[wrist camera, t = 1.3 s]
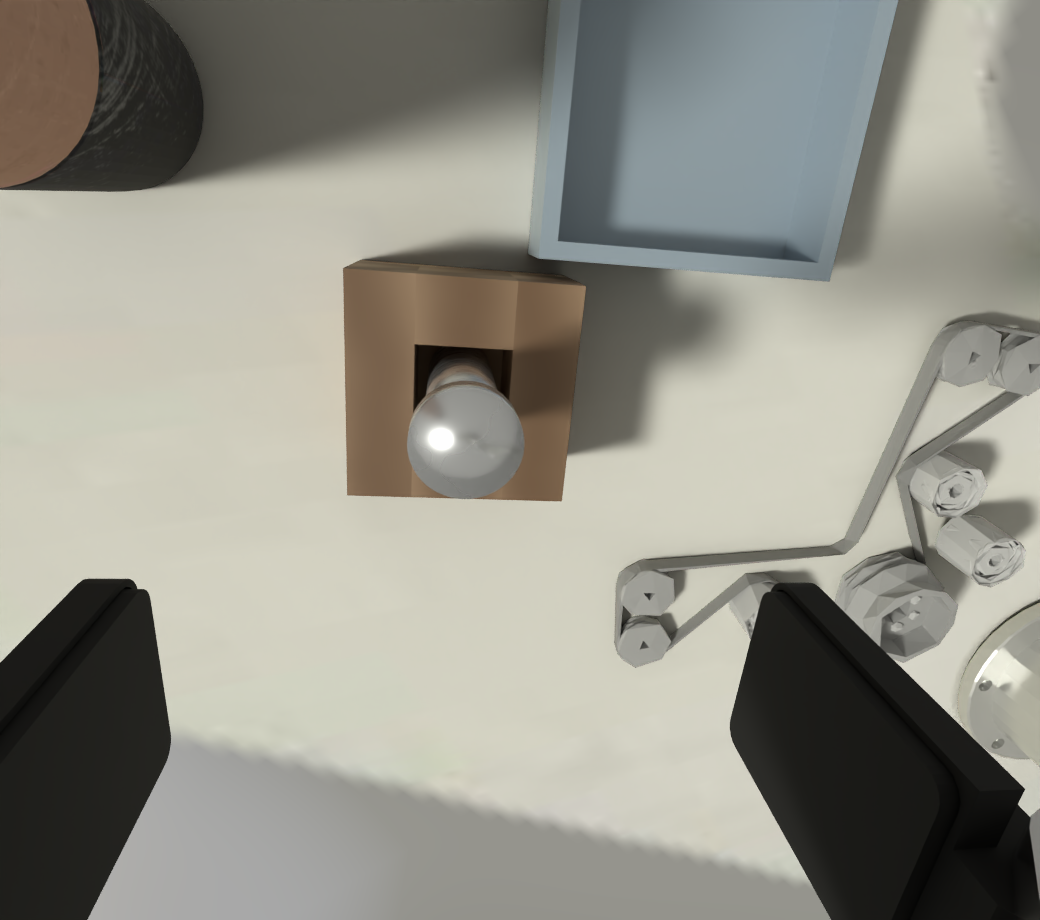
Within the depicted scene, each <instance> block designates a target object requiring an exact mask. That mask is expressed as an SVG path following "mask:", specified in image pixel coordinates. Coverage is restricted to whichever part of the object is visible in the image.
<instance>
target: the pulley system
mask: <svg viewBox="0 0 1040 920" xmlns="http://www.w3.org/2000/svg"><path fill="white" fill-rule="evenodd" d="M995 330H996V331H1002V332H1007V333H1011V334H1010V335H1009V336H1008V337H1007V338H1006V339H1004V340H1003V341H1002V342H1001V336H1002V334H1000V333H998V332H996V331H995ZM986 376H987V378H988V382H989V385H993V386H997V387H1001V388H1004V389H1006V391H1009V392H1007V393H1006V394H1004V395H1003V396H1001V397H1000V398H998V399H997V400H995V401H994V402H992V403H991V404H989V405H988V406H986V407H984V408H983V409H981V410H980V411H978V412H977V413H975V414H974V415H972V416H971V417H969V418H968V419H966V420H964V421H963V422H961V423H960V424H958V425H957V426H955V427H954V428H952V429H951V430H949V431H948V432H946V433H944V434H943V435H941V436H940V437H938V438H937V439H935V440H934V441H932V442H931V443H929V444H928V445H926V446H924V447H923V448H921V449H920V450H918V451H917V452H915V453H914V454H912V455H911V456H909V457H908V458H907V459H906V460H905V461H904V462H903V465H902V467H901V469H900V470H899V472H898V473H897V475H896V479H897V484H898V488H899V492H900V497H901V501H902V506H903V510H904V515H905V519H906V523H907V528H908V532H909V536H910V540H911V543H912V547H913V550H914V554H915V557H916V560H911V559H909V558H906V557H905V556H903V555H902V554H900V553H899V552H894V553H889V554H884V555H880V556H875V557H870V558H868V559H866V560H865V561H863V562H862V563H860V564H859V565H857V566H856V567H855V568H853V569H852V570H850V571H849V572H847V573H846V574H844V575H843V577H842V579H841V582H840V585H839V587H838V591H837V594H836V598H835V603H836V604H837V605H838V606H839V607H840V608H841V609H842V610H843V611H844V612H845V613H846V614H847V615H848V616H849V617H850V618H851V619H852V620H853V621H854V622H855V623H856V624H857V625H858V626H859V627H860V628H861V629H862V630H863V631H864V632H865V633H866V634H867V635H868V636H869V637H870V638H871V639H872V640H873V641H875V642H876V643H877V644H878V645H879V646H880V647H881V648H882V649H883V650H884V651H885V652H886V653H887V654H888V655H889V656H890V657H891V658H892V659H893V660H897V661H900V662H903V663H904V662H906V661H908V660H910V659H912V658H914V657H916V656H918V655H920V654H922V653H924V652H926V651H928V650H930V649H932V648H934V647H936V646H937V645H939V644H940V642H941V641H942V640H943V638H944V637H945V635H946V634H947V633H948V631H949V630H950V628H951V627H952V626H953V624H954V621H955V616H956V612H957V608H958V604H957V603H956V602H955V601H954V600H953V599H952V598H951V597H950V596H949V595H948V594H947V593H946V592H944V587H943V586H942V585H941V583H940V582H939V581H938V580H937V578H936V577H935V576H934V575H933V573H932V572H931V571H930V569H929V568H928V567H927V566H926V563H925V559H924V554H923V550H922V546H921V541H920V537H919V532H918V528H917V524H916V519H915V515H914V510H913V506H912V501H911V497H912V498H914V499H915V500H916V501H918V502H919V503H920V504H922V505H923V506H925V507H926V508H927V509H929V510H930V511H931V512H933V513H934V514H935V515H937V516H938V517H950V518H952V519H951V520H949V521H948V522H947V523H946V524H945V525H944V526H943V527H942V528H941V529H940V530H939V532H938V535H937V538H936V541H935V547H936V549H937V552H938V554H939V555H940V556H942V557H943V558H944V559H946V560H947V561H948V562H950V563H951V564H952V565H954V566H955V567H956V568H958V569H959V570H960V571H962V572H963V573H964V574H966V575H967V576H968V577H970V578H971V579H972V580H974V581H975V582H976V583H978V584H979V585H983V586H987V587H993V586H995V585H997V584H999V583H1001V582H1003V581H1005V580H1007V579H1009V578H1010V577H1012V576H1013V575H1014V574H1015V573H1017V572H1018V571H1019V570H1021V569H1022V568H1023V567H1024V560H1025V552H1026V550H1025V549H1024V547H1023V545H1022V544H1021V543H1020V542H1018V541H1017V540H1016V539H1014V538H1013V537H1011V536H1010V535H1008V534H1007V533H1005V532H1004V531H1002V530H1001V529H999V528H998V527H996V526H995V525H994V524H992V523H991V522H989V521H988V520H986V519H985V518H983V517H982V516H977V515H963V514H964V513H966V512H968V511H970V510H971V509H973V508H975V507H976V506H978V504H979V502H980V500H981V498H982V496H983V494H984V492H985V490H986V488H987V486H988V485H987V482H986V480H985V478H984V475H983V473H982V470H981V469H979V468H977V467H975V466H973V465H971V464H969V463H967V462H966V461H964V460H962V459H960V458H958V457H956V456H954V455H952V454H950V453H948V452H947V451H945V450H944V449H946V448H947V447H949V446H950V445H952V444H953V443H955V442H956V441H958V440H959V439H961V438H962V437H964V436H965V435H967V434H968V433H970V432H971V431H973V430H974V429H976V428H977V427H979V426H980V425H982V424H983V423H985V422H986V421H988V420H989V419H991V418H992V417H994V416H995V415H997V414H998V413H1000V412H1001V411H1003V410H1004V409H1006V408H1007V407H1009V406H1010V405H1012V404H1013V403H1015V402H1016V401H1018V400H1019V399H1021V398H1022V397H1024V396H1029V395H1030V394H1032V393H1033V392H1035V391H1036V390H1038V389H1039V388H1040V333H1039V332H1033V331H1028V330H1022V329H1016V328H1010V327H1004V326H998V325H992V324H985V323H979V322H975V321H961V322H957V323H955V324H952V325H950V326H947V327H944V328H943V329H942V330H941V332H940V333H939V334H938V336H937V337H936V339H935V340H934V342H933V343H932V345H931V347H930V349H929V351H928V353H927V356H926V358H925V360H924V362H923V365H922V367H921V369H920V371H919V374H918V376H917V378H916V380H915V382H914V385H913V387H912V389H911V391H910V394H909V396H908V398H907V400H906V402H905V405H904V407H903V409H902V411H901V414H900V416H899V418H898V420H897V423H896V425H895V427H894V429H893V431H892V434H891V436H890V438H889V440H888V443H887V445H886V447H885V449H884V451H883V454H882V456H881V458H880V460H879V463H878V465H877V467H876V469H875V472H874V474H873V476H872V478H871V480H870V483H869V485H868V487H867V489H866V492H865V494H864V496H863V498H862V500H861V503H860V505H859V507H858V509H857V512H856V514H855V516H854V518H853V521H852V523H851V525H850V527H849V529H848V532H847V534H846V536H845V538H844V539H843V540H841V541H839V542H837V543H835V544H833V545H831V546H826V547H813V548H800V549H787V550H774V551H761V552H748V553H735V554H722V555H708V556H695V557H682V558H669V559H656V560H647V559H643V560H640V561H638V562H636V563H634V564H633V565H631V566H629V567H627V568H625V569H624V570H623V571H621V572H620V573H619V575H618V579H617V583H616V602H615V640H614V643H615V647H616V650H617V654H618V655H619V656H620V657H621V659H623V660H624V661H625V662H627V663H629V664H630V665H632V666H633V667H635V668H636V667H639V666H642V665H645V664H648V663H651V662H654V661H658V660H661V659H662V658H663V656H664V654H665V652H667V651H668V650H669V649H670V648H672V647H673V646H674V645H675V644H677V643H678V642H679V641H680V640H682V639H683V638H684V637H685V636H687V635H688V634H689V633H690V632H692V631H693V630H694V629H695V628H697V627H698V626H699V625H700V624H702V623H703V622H704V621H705V620H707V619H708V618H709V617H710V616H712V615H713V614H714V613H715V612H717V611H718V610H719V609H720V608H722V607H723V606H724V605H725V604H727V603H728V602H729V608H730V610H731V611H732V613H733V614H734V616H735V617H736V619H737V620H738V622H739V623H740V625H741V626H742V628H743V629H744V631H745V632H746V633H747V635H748V636H749V638H750V639H751V637H752V633H753V629H754V625H755V622H756V618H757V614H758V610H759V606H760V602H761V599H762V596H763V595H764V594H765V593H766V592H771V589H772V588H773V586H774V585H775V584H777V583H780V582H778V581H777V580H775V579H774V578H772V577H771V576H769V575H767V574H766V573H746V574H744V575H743V576H742V577H741V578H739V579H738V580H737V581H736V582H734V583H733V584H732V585H731V586H730V587H728V588H727V589H726V590H725V591H724V592H722V593H721V594H720V595H719V596H717V597H716V598H715V599H714V600H713V601H711V602H710V603H709V604H708V605H707V606H705V607H704V608H703V609H702V610H700V611H699V612H698V613H697V614H696V615H694V616H693V617H692V618H691V619H690V620H688V621H687V622H686V623H685V624H683V625H682V626H681V627H680V628H679V629H677V630H676V631H675V632H674V633H673V634H671V635H670V636H669V637H668V635H667V633H666V631H665V629H664V627H663V626H661V624H660V623H659V621H658V619H653V618H650V617H648V616H646V615H654V616H661V615H662V614H663V613H664V612H665V610H666V609H667V608H668V607H669V606H670V605H671V604H672V602H673V601H674V600H675V597H674V579H673V578H671V577H669V575H668V574H667V571H675V570H686V569H696V568H707V567H717V566H728V565H738V564H749V563H759V562H769V561H780V560H790V559H801V558H811V557H822V556H832V555H842V554H846V553H847V552H848V551H849V550H850V549H851V548H853V547H854V546H855V545H856V544H857V543H858V542H859V539H860V537H861V535H862V533H863V531H864V529H865V527H866V524H867V522H868V520H869V518H870V516H871V514H872V512H873V510H874V507H875V505H876V503H877V501H878V499H879V497H880V495H881V492H882V490H883V488H884V486H885V484H886V482H887V480H888V477H889V475H890V473H891V471H892V469H893V467H894V465H895V462H896V460H897V458H898V456H899V454H900V452H901V450H902V447H903V445H904V443H905V441H906V439H907V437H908V435H909V432H910V430H911V428H912V426H913V424H914V422H915V420H916V418H917V415H918V413H919V411H920V409H921V407H922V405H923V403H924V400H925V398H926V396H927V394H928V392H929V390H930V388H931V385H932V383H933V381H934V379H935V378H937V379H939V380H942V381H944V382H945V381H946V382H949V383H951V384H954V385H956V386H959V387H962V386H965V385H969V384H972V383H976V382H980V381H983V380H984V379H985V378H986ZM910 496H911V497H910ZM623 606H624V607H625V608H626V609H627V610H628V611H629V612H630V613H631V615H639V616H635V617H632V618H630V619H628V620H626V621H625V623H624V625H623V626H622V628H621V622H622V612H623Z"/></svg>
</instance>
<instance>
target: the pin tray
mask: <svg viewBox="0 0 1040 920" xmlns="http://www.w3.org/2000/svg"><path fill="white" fill-rule="evenodd" d="M897 4H898V0H548V11H547V24H546V36H545V49H544V61H543V73H542V86H541V98H540V111H539V123H538V135H537V148H536V160H535V172H534V185H533V197H532V210H531V222H530V234H529V247H528V254H529V255H532V256H534V257H536V258H539V259H552V260H565V261H577V262H590V263H602V264H615V265H628V266H640V267H653V268H665V269H678V270H691V271H703V272H716V273H728V274H741V275H753V276H766V277H779V278H791V279H804V280H816V281H830V277H831V273H832V269H833V265H834V261H835V256H836V252H837V248H838V244H839V240H840V236H841V232H842V228H843V224H844V220H845V216H846V212H847V208H848V203H849V199H850V195H851V191H852V187H853V183H854V179H855V175H856V171H857V167H858V163H859V159H860V155H861V151H862V146H863V142H864V138H865V134H866V130H867V126H868V122H869V118H870V114H871V110H872V106H873V102H874V98H875V93H876V89H877V85H878V81H879V77H880V73H881V69H882V65H883V61H884V57H885V53H886V49H887V45H888V40H889V36H890V32H891V28H892V24H893V20H894V16H895V12H896V8H897Z"/></svg>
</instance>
